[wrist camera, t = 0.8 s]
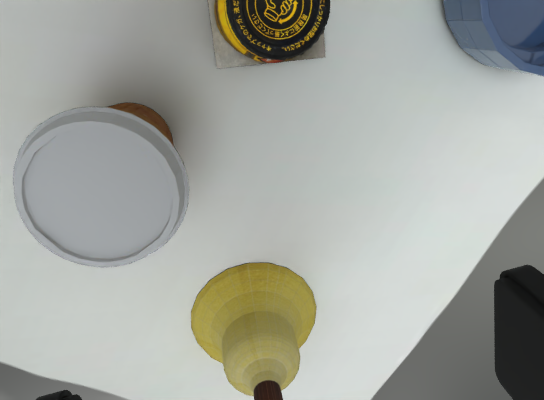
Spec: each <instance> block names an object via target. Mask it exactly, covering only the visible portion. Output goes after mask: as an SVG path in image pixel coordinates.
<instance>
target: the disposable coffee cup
mask: <svg viewBox="0 0 544 400" xmlns="http://www.w3.org/2000/svg"><path fill="white" fill-rule="evenodd" d="M13 186H14V195H15V202H16V206H17V210H18V212H19V214H20V216H21V219H22V221H23V223H24V225H25V226H26V227H27V229H28V230H29V231H30V233H31V234H32V235H33V237H34V238H35V239H36V240H37V241H38V242H39V243H40V244H42V245H43V246H44V247H46V248H47V249H48V250H49V251H51V252H52V253H54V254H56V255H58V256H60V257H61V258H63V259H66V260H69V261H71V262H74V263H77V264H81V265H87V266H94V267H116V266H121V265H126V264H130V263H133V262H135V261H137V260H140V259H142V258H144V257H146V256H148V255H149V254H151V253H153V252H155V251H156V250H158V249H159V248H160V247H162V246H163V245H164V244H166V243H167V242H168V241H169V240H170V238H171V237H172V236H173V235H174V234H175V233H176V231H177V230H178V228H179V226H180V225H181V223H182V222H183V219H184V216H185V213H186V210H187V206H188V200H189V184H188V177H187V173H186V170H185V167H184V164H183V162H182V160H181V158H180V156H179V154H178V152H177V151H176V149H175V148H174V144H173V140H172V135H171V132H170V130H169V127H168V125H167V124H166V122H165V120H164V119H163V118H162V117H161V116H160V115H159V114H158V113H156V112H155V111H154V110H152V109H150V108H148V107H146V106H144V105H140V104H136V103H120V104H116V105H113V106H109V107H82V108H75V109H71V110H68V111H64V112H62V113H59V114H57V115H55V116H52V117H51V118H49V119H48V120H46V121H44V122H43V123H41V124H40V125H38V126H37V128H36V129H35V130H34V131H33V132H32V133H31V134H30V135H29V136H28V137H27V138H26V140H25V142H24V143H23V145H22V146H21V148H20V149H19V152H18V155H17V159H16V162H15V165H14V174H13Z"/></svg>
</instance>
